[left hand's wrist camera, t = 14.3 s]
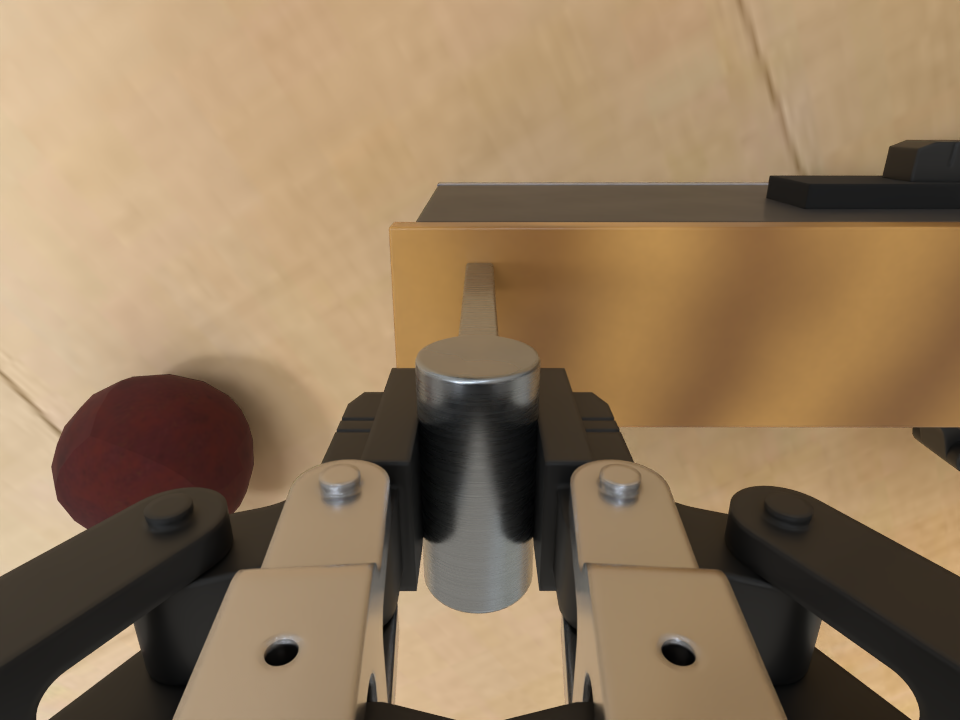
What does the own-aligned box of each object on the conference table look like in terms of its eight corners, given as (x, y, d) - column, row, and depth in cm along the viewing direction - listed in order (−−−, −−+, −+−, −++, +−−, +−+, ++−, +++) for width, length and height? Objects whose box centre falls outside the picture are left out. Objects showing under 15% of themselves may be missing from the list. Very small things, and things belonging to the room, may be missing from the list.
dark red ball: (239, 511, 31) (175, 615, 25) (92, 441, 30) (-17, 532, 23) (301, 401, 29) (249, 484, 23) (145, 319, 28) (40, 382, 21)
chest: (442, 313, 28) (421, 414, 18) (438, 182, 26) (414, 221, 16) (804, 313, 28) (970, 414, 18) (832, 182, 26) (1034, 220, 16)
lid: (402, 414, 18) (340, 650, 10) (393, 221, 16) (304, 326, 8) (971, 414, 18) (1360, 653, 10) (1035, 221, 16) (1592, 327, 8)
